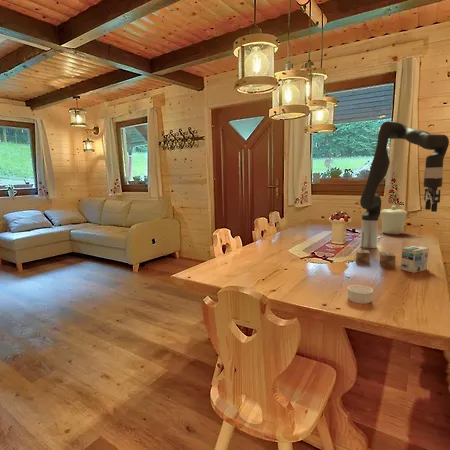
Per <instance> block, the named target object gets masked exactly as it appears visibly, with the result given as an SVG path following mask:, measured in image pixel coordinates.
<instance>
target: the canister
mask: <svg viewBox="0 0 450 450" xmlns="http://www.w3.org/2000/svg"><path fill="white" fill-rule="evenodd" d="M408 212H409V211H406V210H404V209H399V208H397V206H396V205H391V208H384V209H381V211H380V218H381V229H382V230H381V231H382V232H383V233H384V234H387V235H401V234H402V233H403V231H404V228H405V223H406V218H407V214H408Z"/></svg>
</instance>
